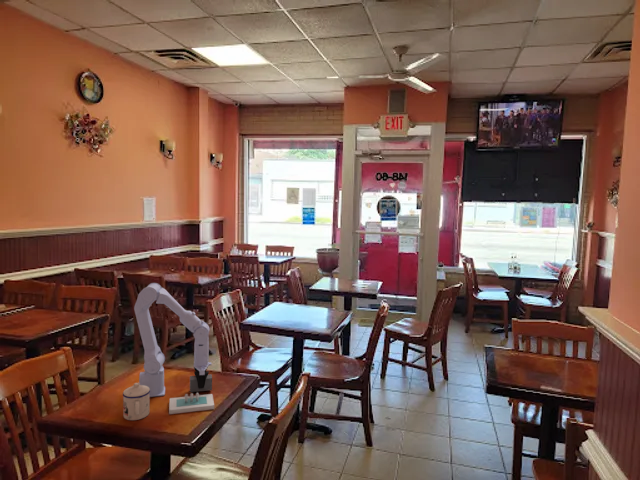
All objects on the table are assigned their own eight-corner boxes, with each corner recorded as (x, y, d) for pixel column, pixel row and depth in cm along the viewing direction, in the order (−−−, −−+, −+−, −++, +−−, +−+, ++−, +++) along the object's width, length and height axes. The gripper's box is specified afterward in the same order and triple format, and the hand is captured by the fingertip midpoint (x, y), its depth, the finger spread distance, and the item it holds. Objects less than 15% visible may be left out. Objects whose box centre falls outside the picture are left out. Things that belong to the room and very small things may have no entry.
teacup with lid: (122, 411, 156) (122, 380, 155) (149, 407, 160) (149, 377, 159) (122, 427, 145) (122, 394, 144) (151, 422, 149) (151, 390, 148)
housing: (190, 392, 171) (190, 380, 171) (189, 387, 175) (189, 376, 175) (211, 390, 174) (212, 378, 174) (211, 385, 178) (211, 374, 178)
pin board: (169, 414, 155) (169, 401, 155) (169, 402, 164) (169, 390, 164) (214, 409, 160) (214, 397, 160) (212, 397, 170) (212, 386, 169)
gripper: (212, 358, 168) (212, 392, 169) (210, 346, 182) (209, 377, 183) (194, 360, 166) (193, 393, 167) (193, 348, 180) (192, 379, 181)
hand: (200, 385), depth 175 cm, fingers closed on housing, 4 cm apart
